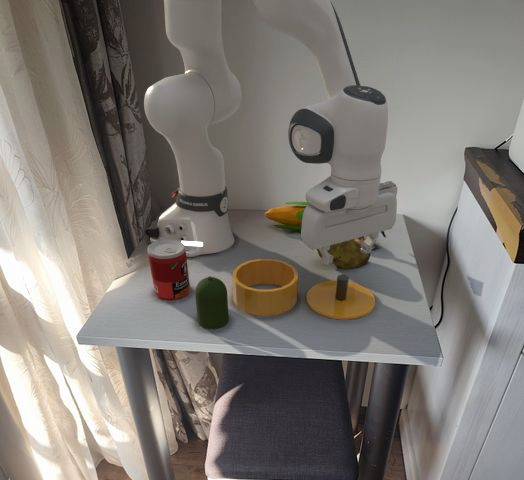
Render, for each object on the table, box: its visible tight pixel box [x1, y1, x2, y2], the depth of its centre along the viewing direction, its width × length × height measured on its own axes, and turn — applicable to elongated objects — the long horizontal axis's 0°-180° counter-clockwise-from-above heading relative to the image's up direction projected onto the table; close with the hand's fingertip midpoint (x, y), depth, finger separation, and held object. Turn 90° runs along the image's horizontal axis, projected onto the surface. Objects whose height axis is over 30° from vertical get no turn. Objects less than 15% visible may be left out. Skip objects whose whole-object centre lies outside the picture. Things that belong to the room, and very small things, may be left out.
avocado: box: [194, 275, 230, 330], centre depth 91 cm, size 6×6×10 cm
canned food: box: [147, 240, 191, 301], centre depth 100 cm, size 8×8×11 cm
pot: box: [231, 258, 299, 317], centre depth 99 cm, size 14×14×6 cm
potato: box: [316, 240, 371, 269], centre depth 110 cm, size 8×13×8 cm, turn 74°
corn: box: [264, 200, 310, 232], centre depth 127 cm, size 7×8×20 cm
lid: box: [305, 274, 376, 321], centre depth 98 cm, size 15×15×6 cm
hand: (346, 257), depth 93 cm, fingers open, 8 cm apart
